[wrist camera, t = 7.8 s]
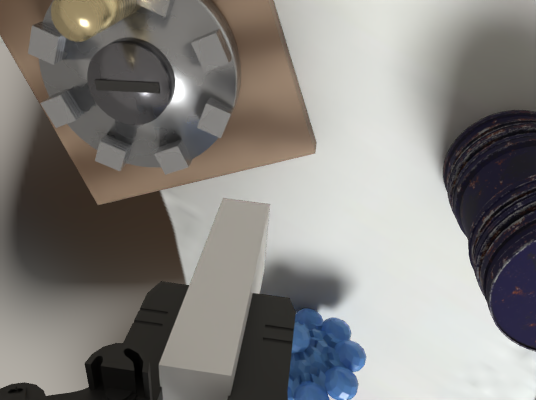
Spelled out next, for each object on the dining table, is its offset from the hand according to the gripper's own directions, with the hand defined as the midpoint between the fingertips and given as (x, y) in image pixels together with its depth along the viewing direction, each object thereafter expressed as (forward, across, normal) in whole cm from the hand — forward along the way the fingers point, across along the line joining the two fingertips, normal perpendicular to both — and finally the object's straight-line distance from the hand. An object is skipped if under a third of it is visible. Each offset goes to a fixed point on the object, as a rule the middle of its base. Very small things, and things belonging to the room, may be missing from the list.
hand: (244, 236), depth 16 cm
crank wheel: (+22, +11, +2) cm, 24 cm away
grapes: (+25, -3, +26) cm, 36 cm away
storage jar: (+24, -18, +8) cm, 31 cm away
